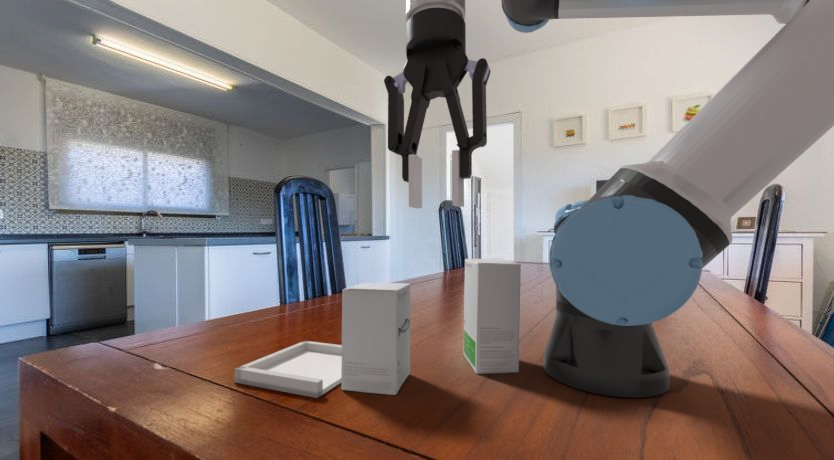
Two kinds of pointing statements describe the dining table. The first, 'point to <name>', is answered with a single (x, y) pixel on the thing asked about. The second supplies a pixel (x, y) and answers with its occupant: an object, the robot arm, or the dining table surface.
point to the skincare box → (492, 315)
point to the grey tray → (296, 369)
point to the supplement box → (375, 337)
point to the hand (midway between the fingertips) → (436, 206)
